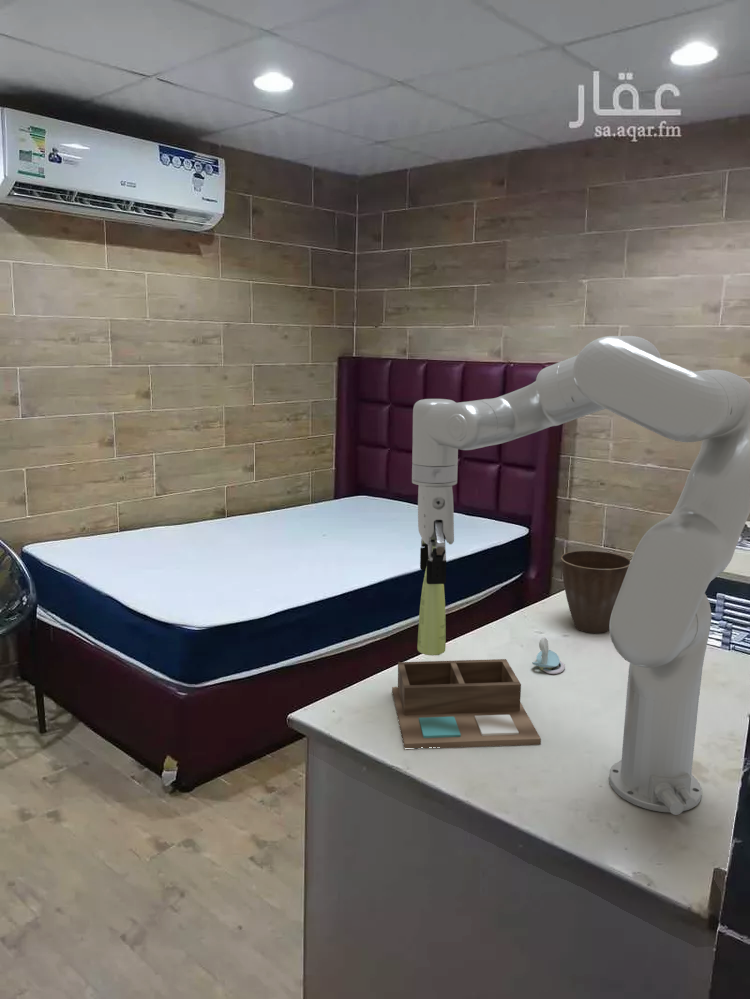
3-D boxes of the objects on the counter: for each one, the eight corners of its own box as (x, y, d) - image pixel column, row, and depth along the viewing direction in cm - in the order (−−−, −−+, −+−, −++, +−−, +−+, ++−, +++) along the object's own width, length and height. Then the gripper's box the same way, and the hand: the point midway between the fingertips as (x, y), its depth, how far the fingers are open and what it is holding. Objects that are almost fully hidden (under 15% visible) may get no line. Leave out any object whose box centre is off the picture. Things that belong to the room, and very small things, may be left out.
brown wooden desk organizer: (540, 744, 123) (542, 710, 121) (404, 749, 121) (404, 714, 120) (509, 688, 142) (511, 658, 141) (392, 692, 140) (392, 661, 139)
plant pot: (544, 626, 173) (547, 558, 169) (580, 610, 183) (584, 546, 179) (602, 645, 162) (607, 573, 159) (638, 628, 172) (643, 559, 169)
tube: (453, 653, 132) (456, 544, 128) (430, 660, 130) (432, 549, 126) (433, 642, 137) (435, 537, 133) (410, 649, 134) (412, 541, 130)
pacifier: (568, 665, 153) (538, 658, 156) (570, 635, 152) (540, 630, 154) (560, 679, 147) (529, 672, 149) (563, 649, 145) (531, 642, 148)
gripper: (467, 483, 119) (463, 592, 122) (448, 465, 136) (445, 561, 139) (419, 484, 118) (417, 593, 122) (406, 465, 135) (405, 562, 139)
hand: (432, 575), depth 131 cm, fingers closed on tube, 7 cm apart
